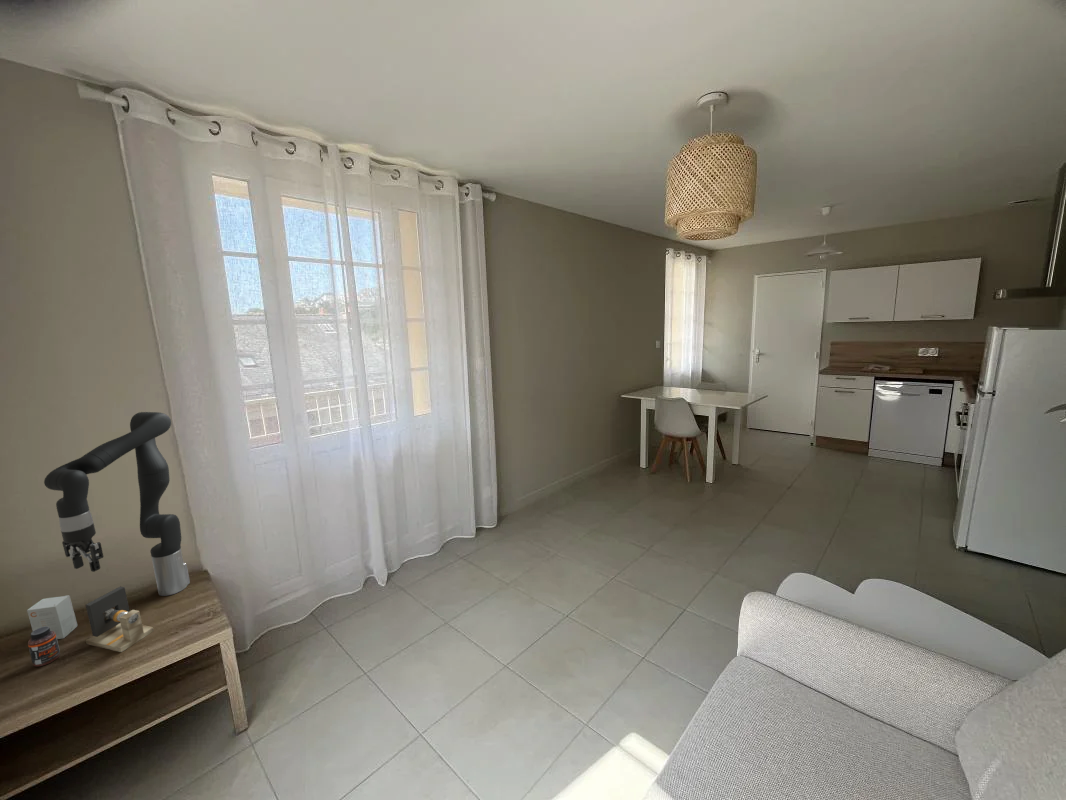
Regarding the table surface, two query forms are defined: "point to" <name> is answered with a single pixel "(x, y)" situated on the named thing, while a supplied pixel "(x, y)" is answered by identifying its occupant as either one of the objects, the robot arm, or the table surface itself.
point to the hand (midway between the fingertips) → (87, 568)
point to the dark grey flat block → (103, 604)
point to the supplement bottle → (43, 646)
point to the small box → (53, 615)
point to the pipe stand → (121, 631)
